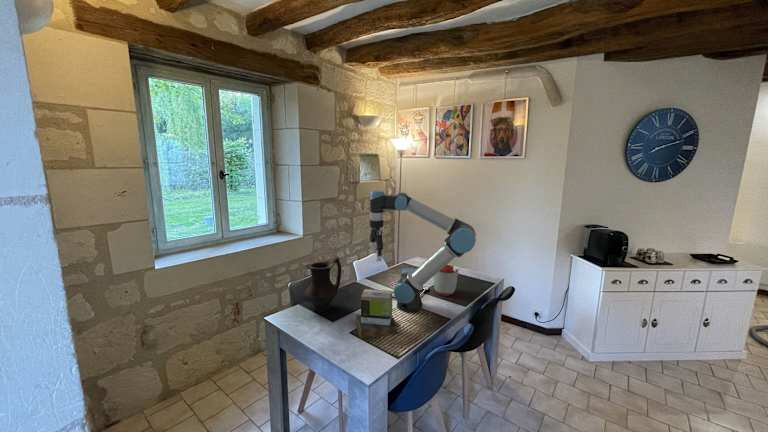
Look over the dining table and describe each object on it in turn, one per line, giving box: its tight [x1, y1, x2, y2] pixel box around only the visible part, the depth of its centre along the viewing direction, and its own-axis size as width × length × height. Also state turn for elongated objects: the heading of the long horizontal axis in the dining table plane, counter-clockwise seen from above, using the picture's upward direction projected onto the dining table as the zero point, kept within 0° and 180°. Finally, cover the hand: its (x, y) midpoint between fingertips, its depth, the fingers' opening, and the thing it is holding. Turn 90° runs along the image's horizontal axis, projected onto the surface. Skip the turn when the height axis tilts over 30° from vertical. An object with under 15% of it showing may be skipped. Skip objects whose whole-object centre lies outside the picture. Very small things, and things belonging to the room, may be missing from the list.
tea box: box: [360, 288, 393, 326], centre depth 163 cm, size 15×10×15 cm
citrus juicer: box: [433, 264, 460, 297], centre depth 209 cm, size 16×17×20 cm
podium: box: [355, 314, 399, 339], centre depth 164 cm, size 19×15×4 cm
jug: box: [304, 256, 342, 313], centre depth 182 cm, size 21×18×30 cm
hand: (375, 257), depth 176 cm, fingers open, 13 cm apart
